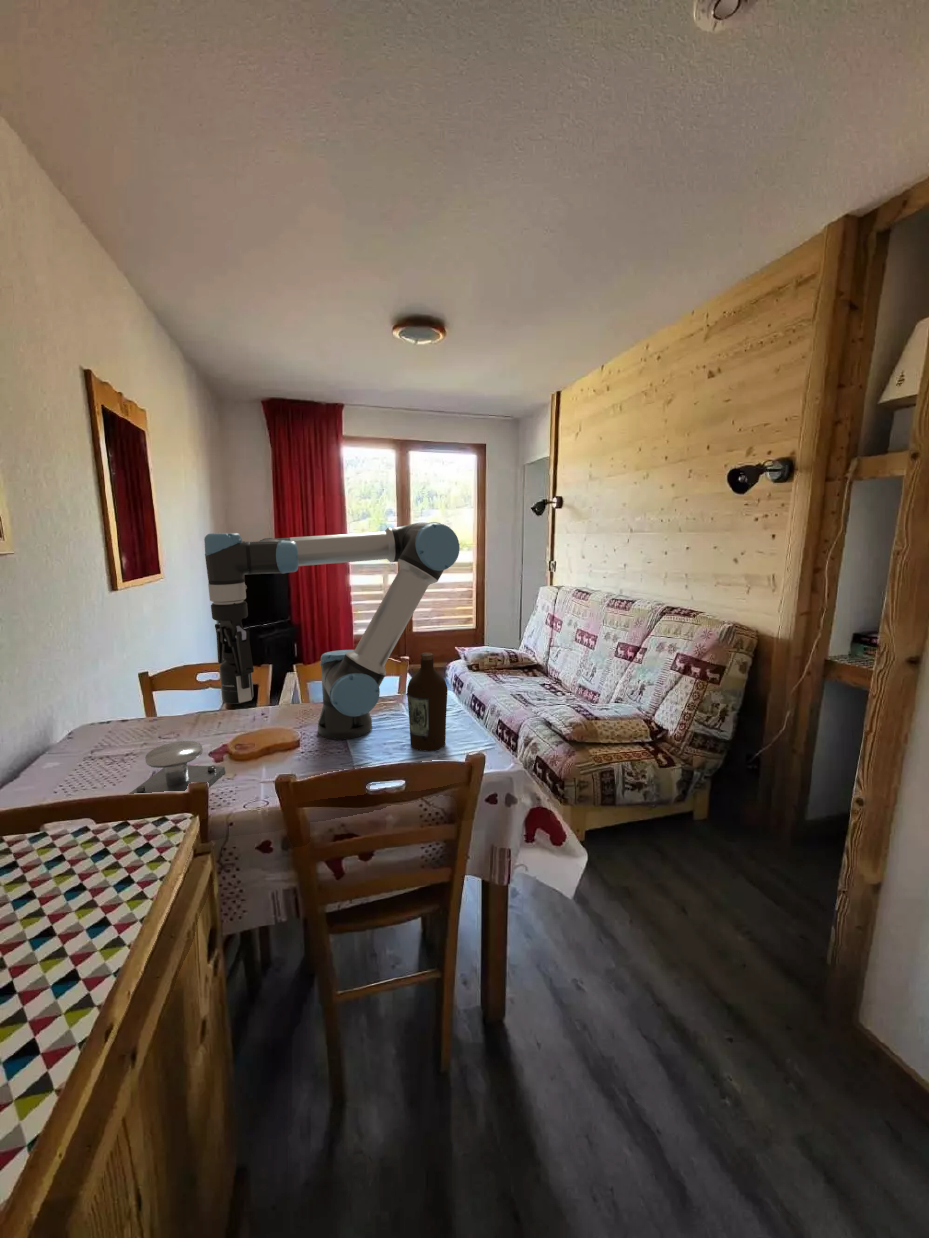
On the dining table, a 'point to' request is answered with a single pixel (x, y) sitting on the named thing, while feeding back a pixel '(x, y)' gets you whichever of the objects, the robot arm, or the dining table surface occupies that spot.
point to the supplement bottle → (230, 679)
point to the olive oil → (427, 707)
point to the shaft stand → (177, 768)
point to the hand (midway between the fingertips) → (238, 696)
